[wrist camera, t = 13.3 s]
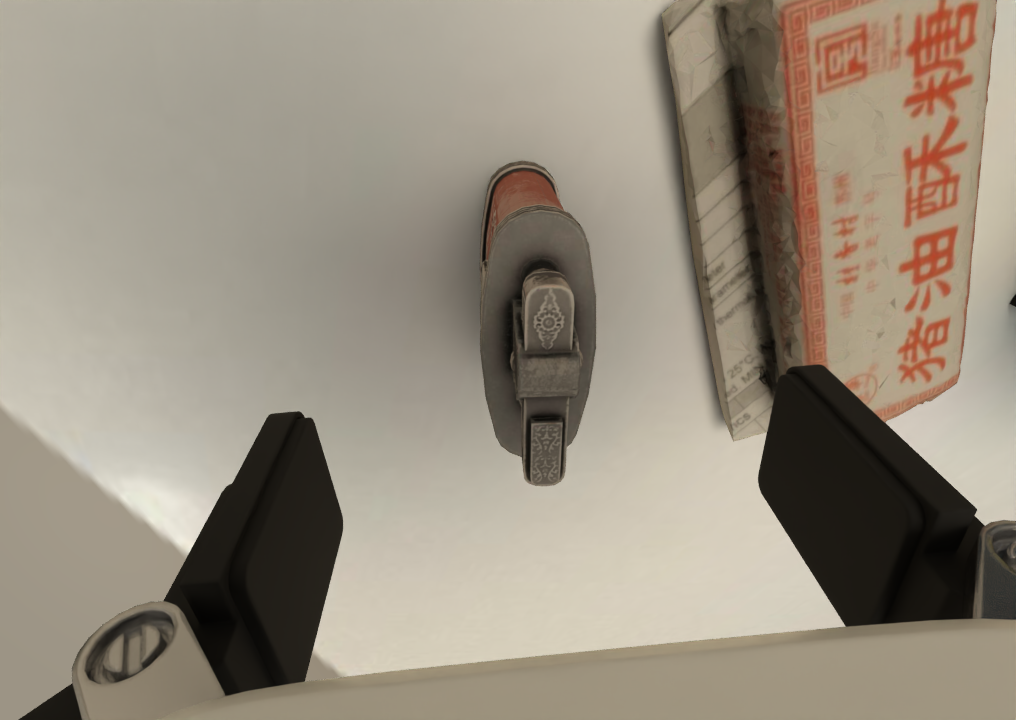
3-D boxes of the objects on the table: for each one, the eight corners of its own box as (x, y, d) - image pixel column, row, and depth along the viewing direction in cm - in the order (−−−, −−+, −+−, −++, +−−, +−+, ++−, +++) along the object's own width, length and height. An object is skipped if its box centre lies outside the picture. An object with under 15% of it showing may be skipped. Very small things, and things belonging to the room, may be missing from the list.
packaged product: (697, -2, 15) (1105, -152, 14) (648, 9, 19) (955, -103, 18) (763, 493, 23) (1017, 425, 22) (718, 424, 27) (930, 364, 26)
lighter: (476, 161, 21) (475, 241, 12) (566, 160, 21) (629, 239, 12) (482, 352, 25) (484, 516, 16) (558, 350, 25) (602, 512, 16)
